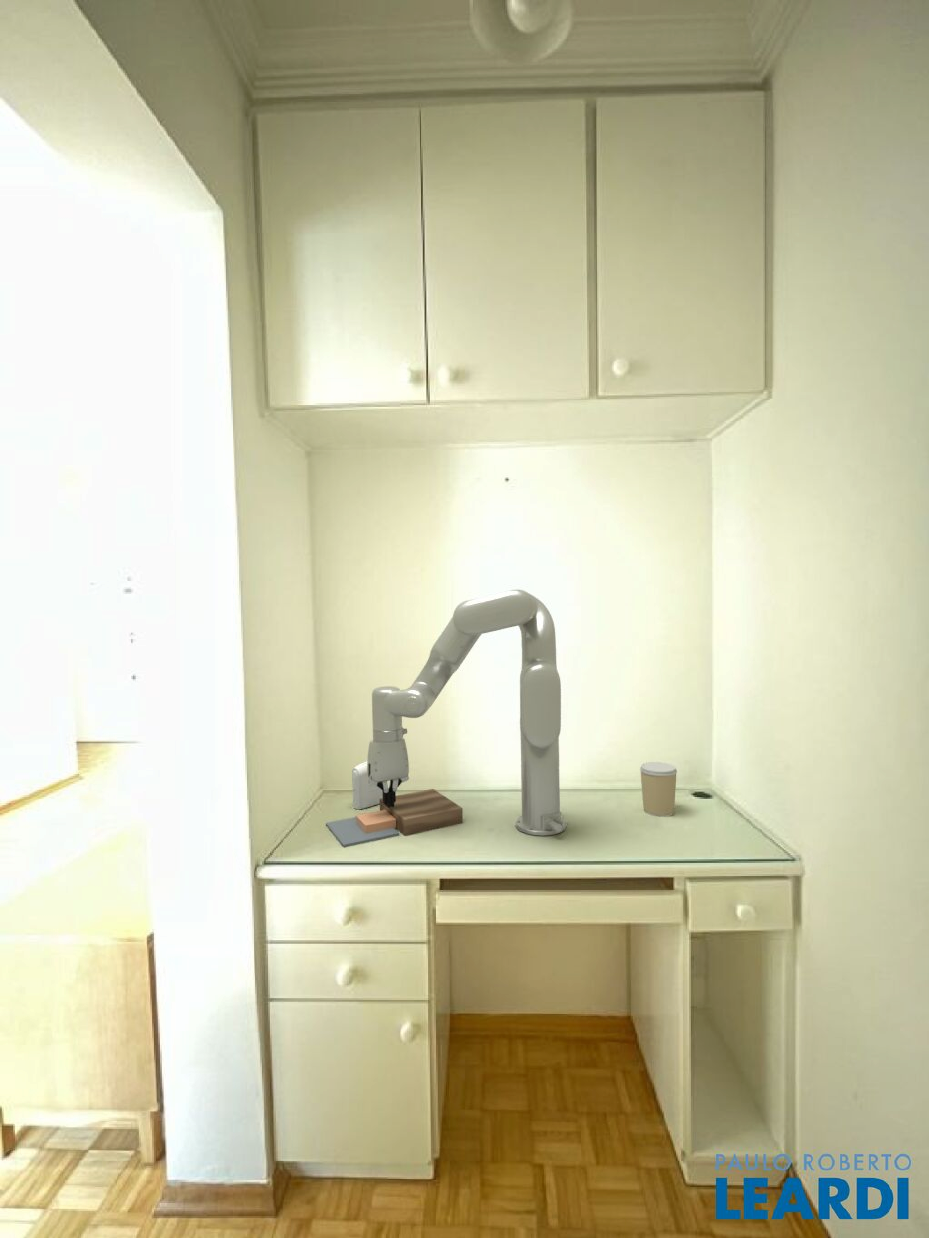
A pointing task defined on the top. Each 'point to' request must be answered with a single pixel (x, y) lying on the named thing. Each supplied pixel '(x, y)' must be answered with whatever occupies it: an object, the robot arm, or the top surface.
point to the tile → (375, 821)
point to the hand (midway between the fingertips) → (389, 805)
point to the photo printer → (364, 788)
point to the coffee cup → (658, 788)
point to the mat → (356, 832)
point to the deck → (423, 812)
